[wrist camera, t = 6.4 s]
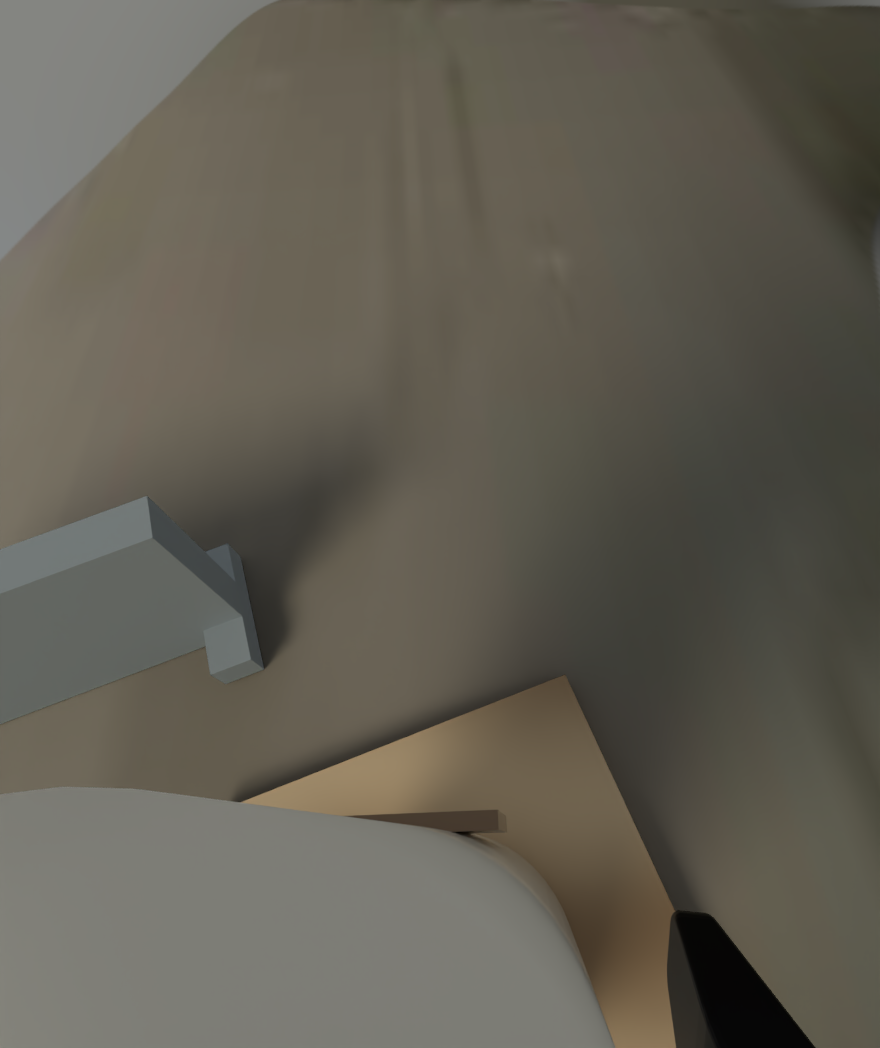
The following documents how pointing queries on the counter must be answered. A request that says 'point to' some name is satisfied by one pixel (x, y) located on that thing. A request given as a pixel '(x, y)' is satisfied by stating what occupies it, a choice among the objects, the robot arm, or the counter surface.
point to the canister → (276, 929)
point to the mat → (533, 832)
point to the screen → (116, 607)
